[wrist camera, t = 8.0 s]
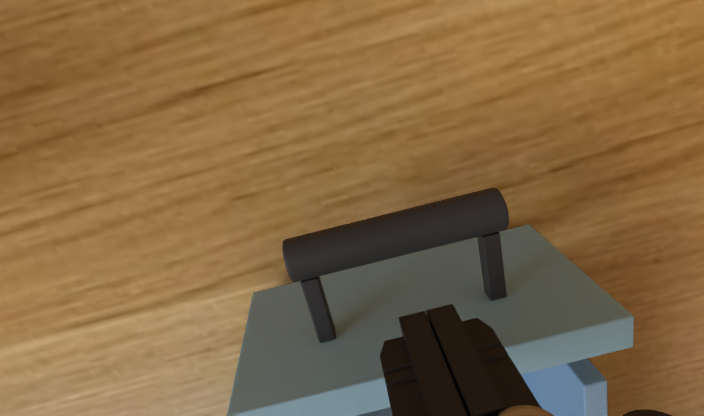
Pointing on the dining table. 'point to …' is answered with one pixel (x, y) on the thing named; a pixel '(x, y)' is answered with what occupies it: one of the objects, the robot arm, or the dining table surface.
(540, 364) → the drawer
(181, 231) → the dining table surface
